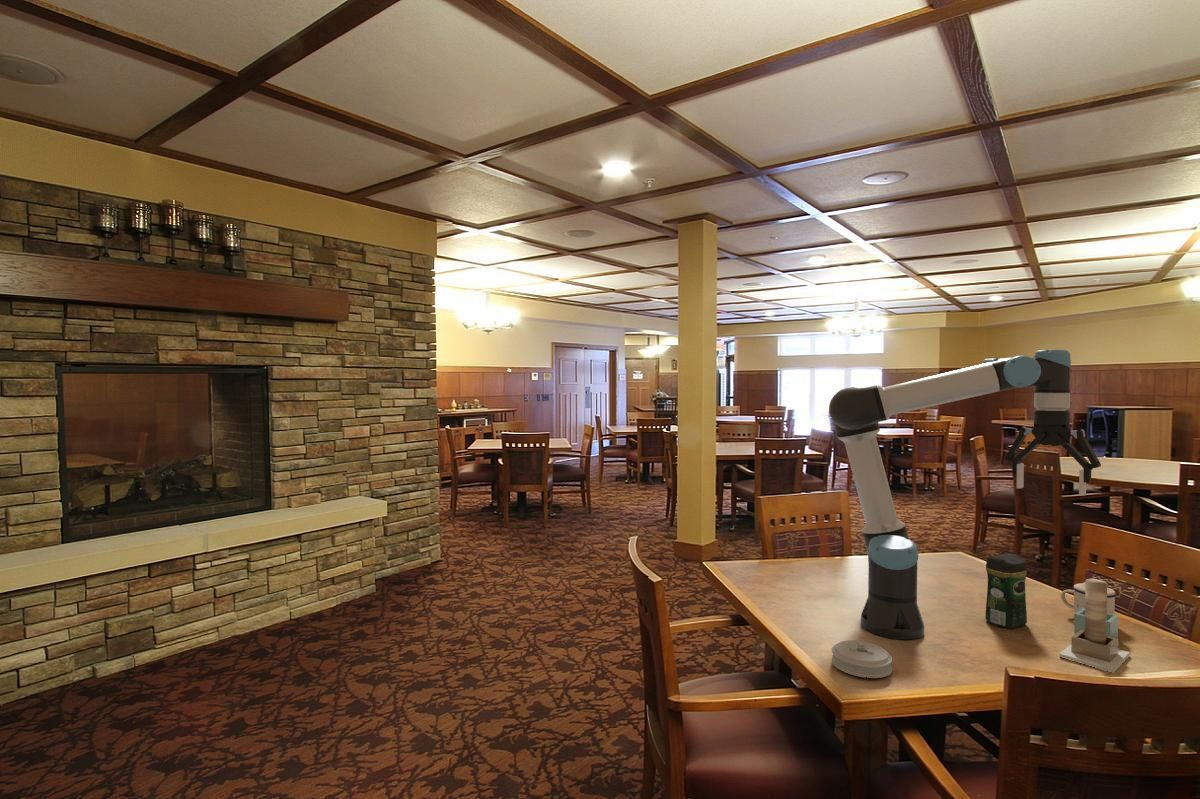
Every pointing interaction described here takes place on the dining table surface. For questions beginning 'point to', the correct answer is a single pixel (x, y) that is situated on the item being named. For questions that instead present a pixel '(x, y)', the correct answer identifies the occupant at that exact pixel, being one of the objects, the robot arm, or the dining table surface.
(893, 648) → the dining table surface
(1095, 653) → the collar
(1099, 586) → the dowel
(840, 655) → the lid
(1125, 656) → the board
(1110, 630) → the pen pot
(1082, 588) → the teacup with lid
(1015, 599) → the coffee jar
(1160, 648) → the dining table surface
